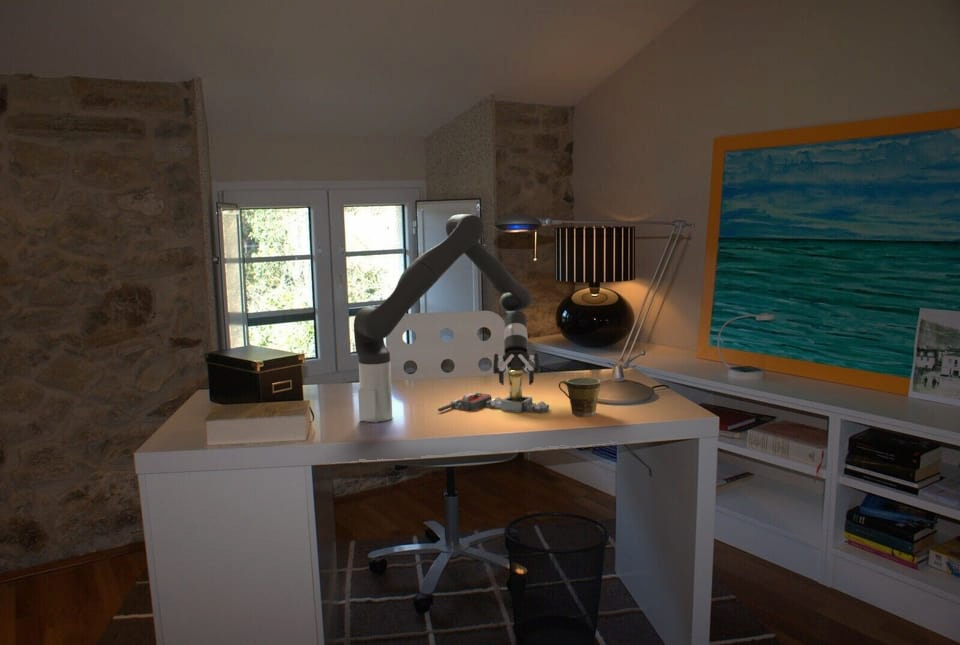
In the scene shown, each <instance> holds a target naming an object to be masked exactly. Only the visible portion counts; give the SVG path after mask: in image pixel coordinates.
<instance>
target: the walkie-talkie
mask: <svg viewBox="0 0 960 645" xmlns="http://www.w3.org/2000/svg"><path fill="white" fill-rule="evenodd" d="M491 399H492V395H491V394H488V393H483V392H475V393H472V392H470V393H468V394H465V395H463V397H462V398H461V397H460V398H457V399H455V400H451V401H450V404H447V405H445V406H441V407H438V409H437V412H442V411H445V410H448V409H450V408H452V409H453V408H454V409H456V410H464V411H470V412H471V411H472V412H475V411H477V410H479V409H481V408H484V407H486V404H485V402H487V401H489V400H491Z"/></svg>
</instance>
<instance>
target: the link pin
mask: <svg viewBox="0 0 960 645" xmlns="http://www.w3.org/2000/svg"><path fill="white" fill-rule="evenodd" d="M507 375H508V388H509V389H508V392H509V393H508V396H509V401H518V402H522V396H523V375H524V369H522V368H521V369H518V368H515V369H511V368H509V369H508V370H507Z"/></svg>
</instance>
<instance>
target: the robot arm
mask: <svg viewBox="0 0 960 645" xmlns="http://www.w3.org/2000/svg"><path fill="white" fill-rule="evenodd" d="M484 229H485V225H484V222H483V219H481V217H480V216H478V215H475V214H468V213H467V214H466V213H465V214H454V215H452V216H451V217H450V218H448V219H447V221H446V225H445V232H446V235H447V237H446V238H445V239H444V240H443V241H441V242H440V243H439V244H437V245H435V246H433V247H432V248H430V249H428V250H427V251H424V253H422V254H420V255H419V256H418V257H417V258H415V260H413V262H411V263H410V265H409V266H407V267H406V269H404V271H403V272H402V274H401V275H400V277H399V279H398V282H397V284H396V286H395V289H394V290H393V292H391V294H390V295H388V297H387V298H386V299H385V300H384V301H383V302H381V304H380V305H378V306H377V307H372V306H366V307H363V308H361V309H360V310H358V311H357V312H356V314H355V317H354V321H353V334H354V344H355V352H356V355H357V358H358V374H359V375H358V376H359V388H358V390H357V392H358V394H357V395H358V415H359V417H358V418H359V421H360V422H366V423H367V422H368V423H376V424H378V423H380V422H385V421H389V420H391V419H392V418H393V402H392V401H393V399H392V397H393V396H392V379H391V378H392V376H391V375H392V373H391V370H392V369H391V353H390V351H389V349H388V348H387V346H386V344H385V338H387V337H388V336H389V335H390V334H391V333H392V332H393V331H394V329H395V328H396V327H397V325H398V324H399V323H400V321H401V320H402V319H403V318H404V317H405V315H406V314H407V312H409V310H410V309H411V308H412V307H414V305H416V303H417V302H419V301H420V299H421V298H422V297H423V296H424V295H425V294H427V292H429V290H430V289H431V288H432V287H433V286H434V285H435V284H436V283H437V282H438V281H439V280H440V278H441V277H442V276H443V275H444V274H445V273H446V272H447V271H448V270H449V269H450V268H452V267H451V266H453V264H454V263H455V262H456V261H457V260H459V258H460V257H462V256H463V255H464V254H465V256H466V257H467V258H468V259H469V260H470V261H471V262H472V263H473V265H474V266H476V268H477V269H478V270H479V271H480V273H481V274H482V276H484V278H485V279H486V281H487V282H488V283H489V285H490V286H491V287H492V289H493V290H494V291H495V293H498V294H502V295H501V296H500V298H499V306H500V309H501V312H502V314H503V318H504V334H503V335H504V336H503V355H499V354H498V353H495V354H493V366H492V367H493V368H492V369H493V374H494V375H496V374H498V383H499V384H500V385H501V386H504V385H505V383H504V381H505V379H504V378H505V376H504V374H505V373H506V372H508V370H509V369H522V368H523V370H524V371H525V372H526V373H527V374H528V382H529V383H528V384H529V385H530V386H531V385H532V384H534V381H535V379H534V378H535V376H534V375H535V374H539V373H540V361H539V360H540V359H539V354H538V353H537V352H535V353H534V354H529V347H528V344H529V342H528V341H529V340H528V330H527V316H526V314H525V313H524V312H523V311H522V310H524V309H526V308H528V307H530V306H531V304H532V296H531V294H530V291H528V289H527V288H525V286H523V285H522V284H520V283H519V281H517V280H516V279H514V278H513V277H512V276H511V274H510V273H509V272H508V270H507V269H506V267H505V266H504V265H503V263H502V262H501V261H499V259H498V258H497V257H495V256H494V255H493V254H492V253H491V252H490V251H488V250H487V249H486V248H485V247H484V245H482V244H481V243H480V240H481V238H482V236H483V234H484ZM530 360H531V362H532V363H533V364H534V367H533V366H532V365H531V364H530V362H529V361H530ZM502 361H503V363H502V365H501V366H500V367H499V363H501V362H502Z"/></svg>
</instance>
